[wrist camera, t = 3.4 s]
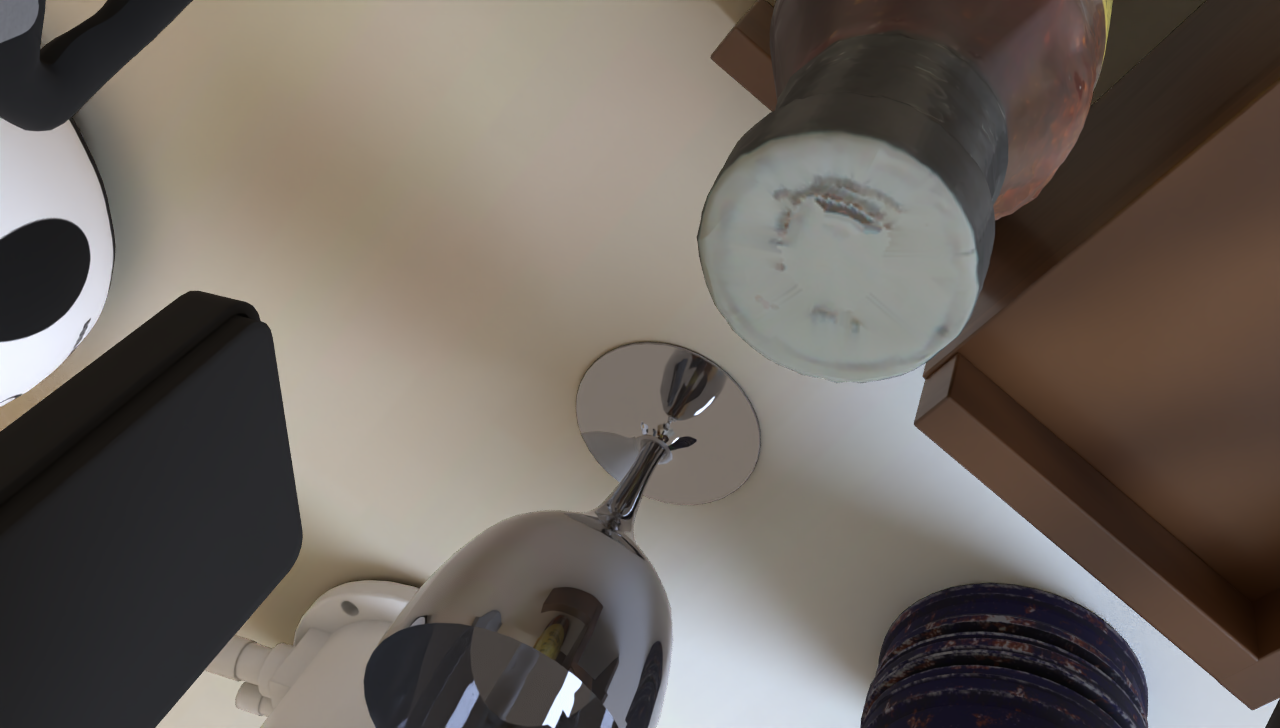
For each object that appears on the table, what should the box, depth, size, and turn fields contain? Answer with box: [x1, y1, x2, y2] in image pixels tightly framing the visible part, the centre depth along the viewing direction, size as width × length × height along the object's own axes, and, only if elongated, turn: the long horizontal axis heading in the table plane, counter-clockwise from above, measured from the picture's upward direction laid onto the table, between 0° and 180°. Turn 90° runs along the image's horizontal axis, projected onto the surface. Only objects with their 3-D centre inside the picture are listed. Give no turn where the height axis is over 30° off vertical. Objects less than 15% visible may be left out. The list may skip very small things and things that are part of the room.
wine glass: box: [364, 342, 761, 728], centre depth 39 cm, size 8×8×15 cm
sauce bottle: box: [697, 0, 1113, 383], centre depth 24 cm, size 6×6×20 cm
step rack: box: [711, 0, 1280, 710], centre depth 28 cm, size 20×14×11 cm
